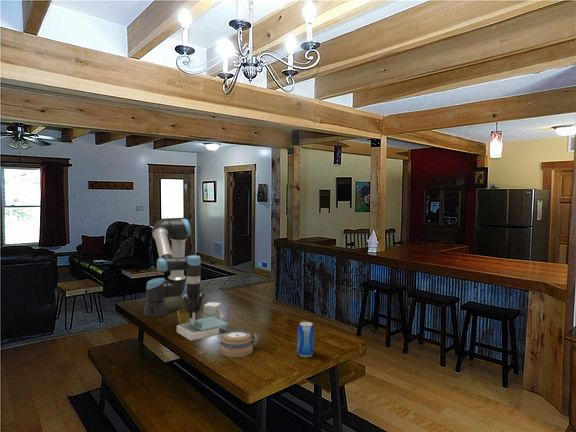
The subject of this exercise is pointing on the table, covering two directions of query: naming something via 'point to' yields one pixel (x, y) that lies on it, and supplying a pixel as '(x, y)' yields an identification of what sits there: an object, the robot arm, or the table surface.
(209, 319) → the lid
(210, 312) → the ink box
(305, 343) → the beer can
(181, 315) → the flower pot
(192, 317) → the robot arm
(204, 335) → the white square tray
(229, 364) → the table surface
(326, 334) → the table surface
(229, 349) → the alarm clock
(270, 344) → the table surface
